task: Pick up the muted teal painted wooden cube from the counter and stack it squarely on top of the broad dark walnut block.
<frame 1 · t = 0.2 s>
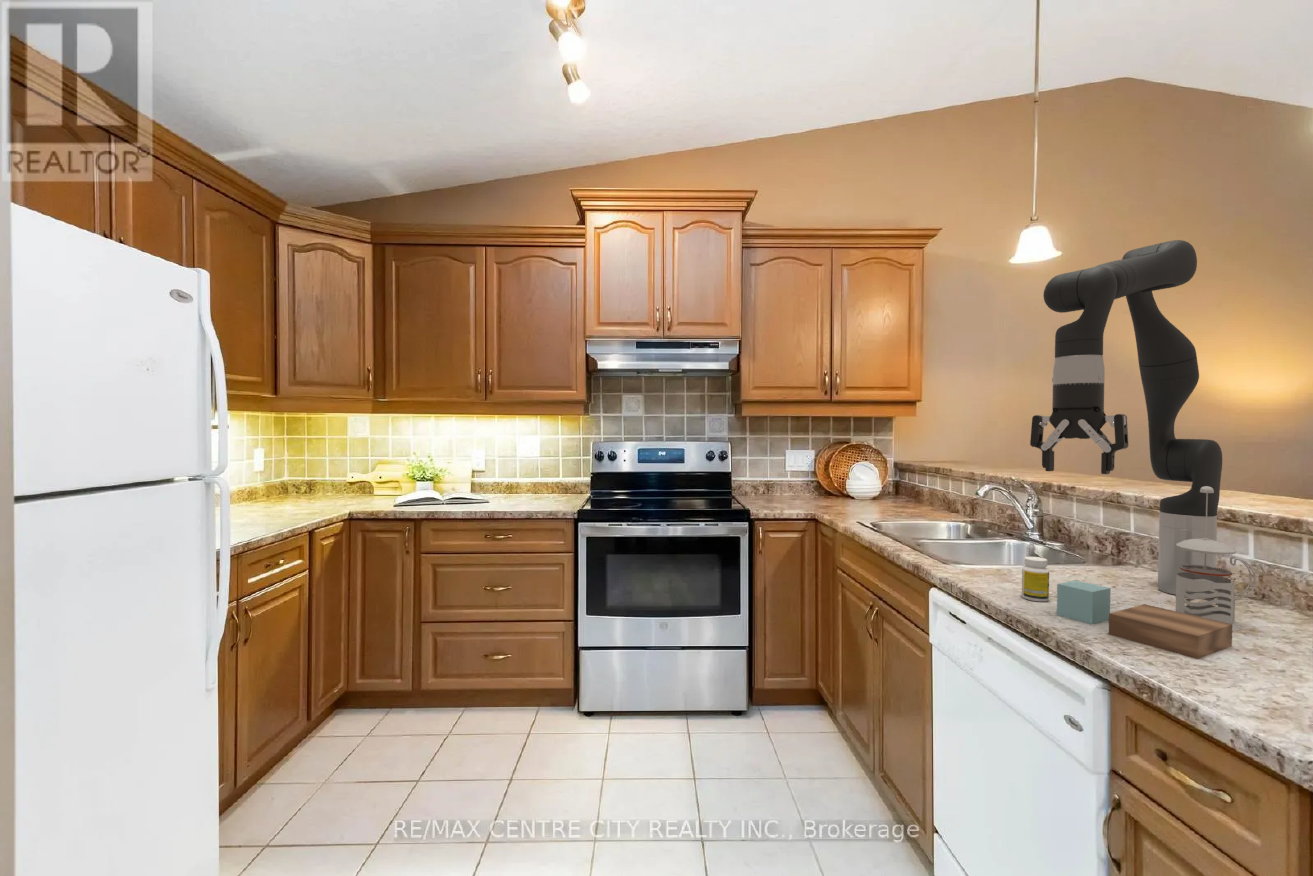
hand: (1076, 472, 105), 28 cm above the worktop, fingers open, 8 cm apart
supplement bottle: (1035, 599, 121), on the worktop
walnut block: (1168, 642, 98), on the worktop
french press: (1209, 623, 107), on the worktop
teal cube: (1082, 617, 110), on the worktop
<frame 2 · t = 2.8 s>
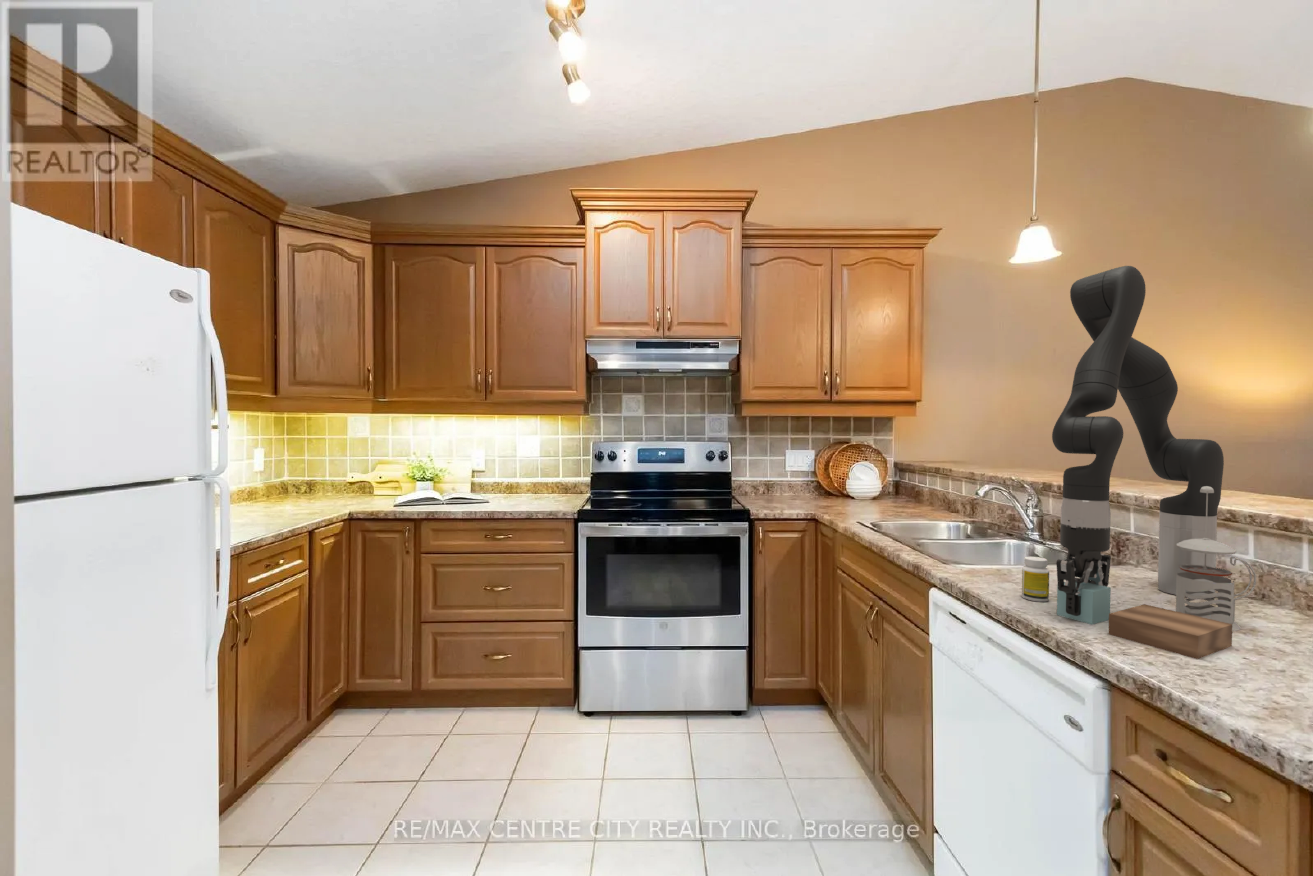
hand: (1082, 611, 110), 1 cm above the worktop, fingers closed on teal cube, 6 cm apart
teal cube: (1083, 617, 110), on the worktop, touching gripper
everything else where it was.
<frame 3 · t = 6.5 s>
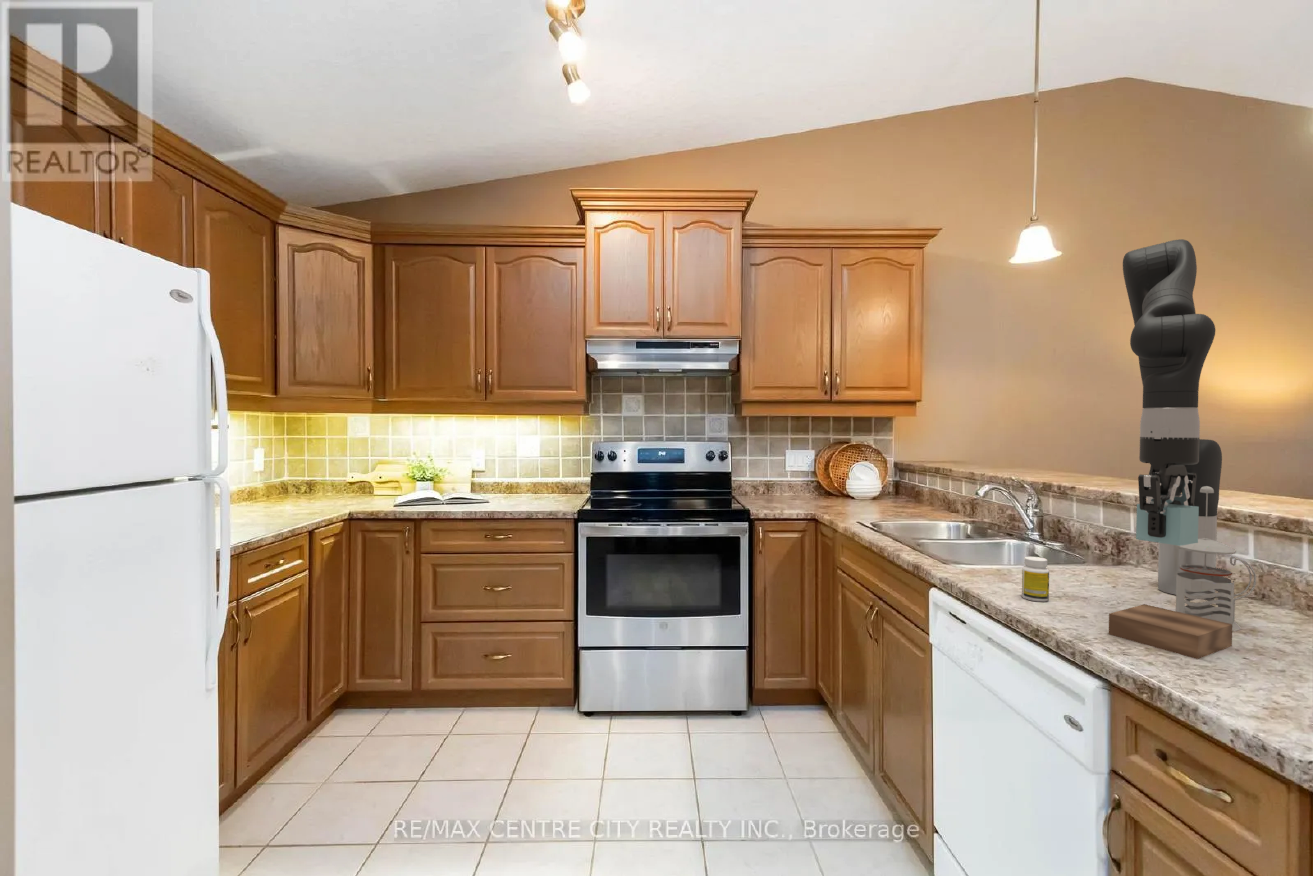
hand: (1166, 534, 98), 18 cm above the worktop, fingers closed on teal cube, 6 cm apart
teal cube: (1166, 541, 98), point 17 cm above the worktop, touching gripper
everything else where it was.
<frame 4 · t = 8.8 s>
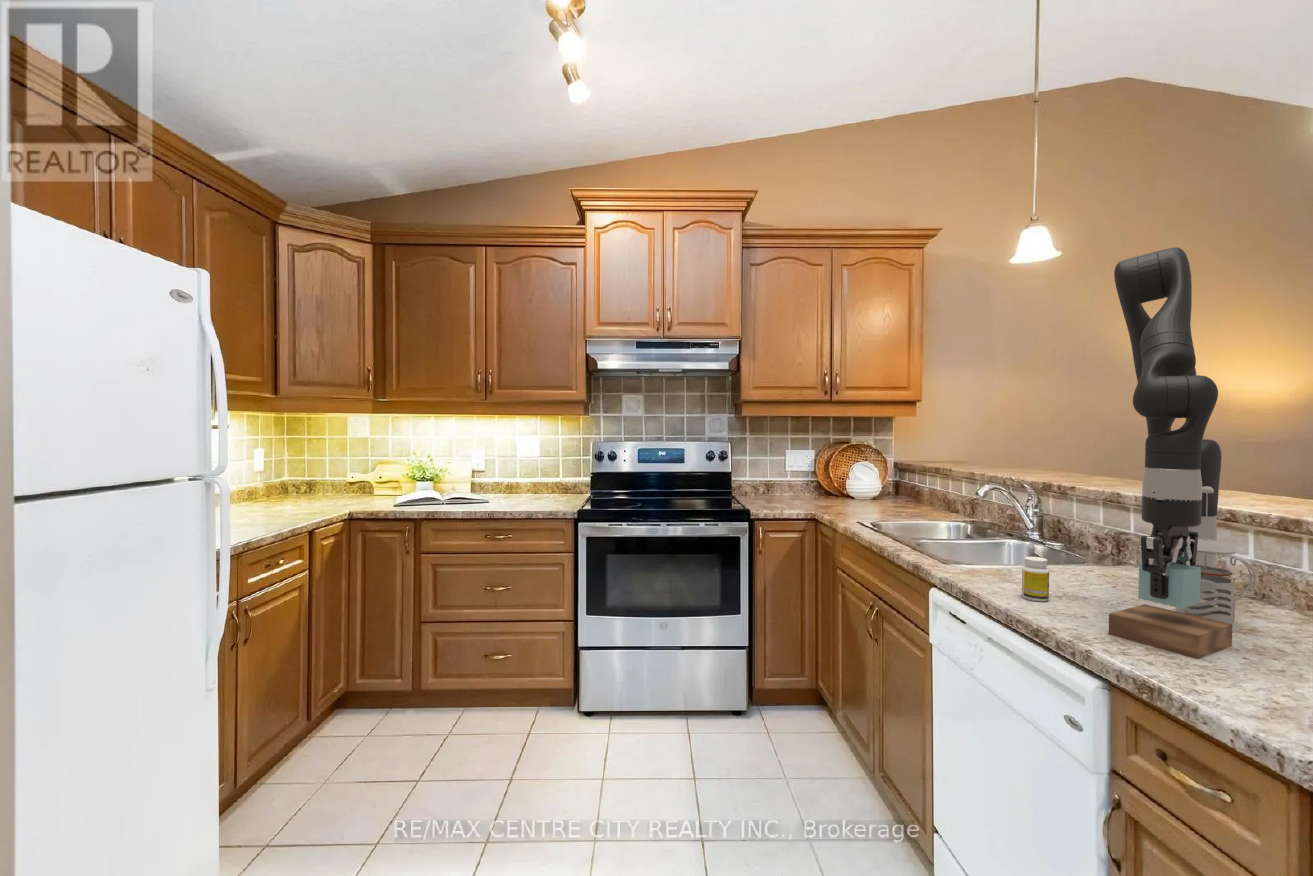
hand: (1168, 594, 98), 8 cm above the worktop, fingers closed on teal cube, 6 cm apart
teal cube: (1168, 600, 98), point 7 cm above the worktop, touching gripper
everything else where it was.
when the fingers open (5 cm above the worktop, at t = 10.4 s): teal cube stays where it is, point 3 cm above the worktop.
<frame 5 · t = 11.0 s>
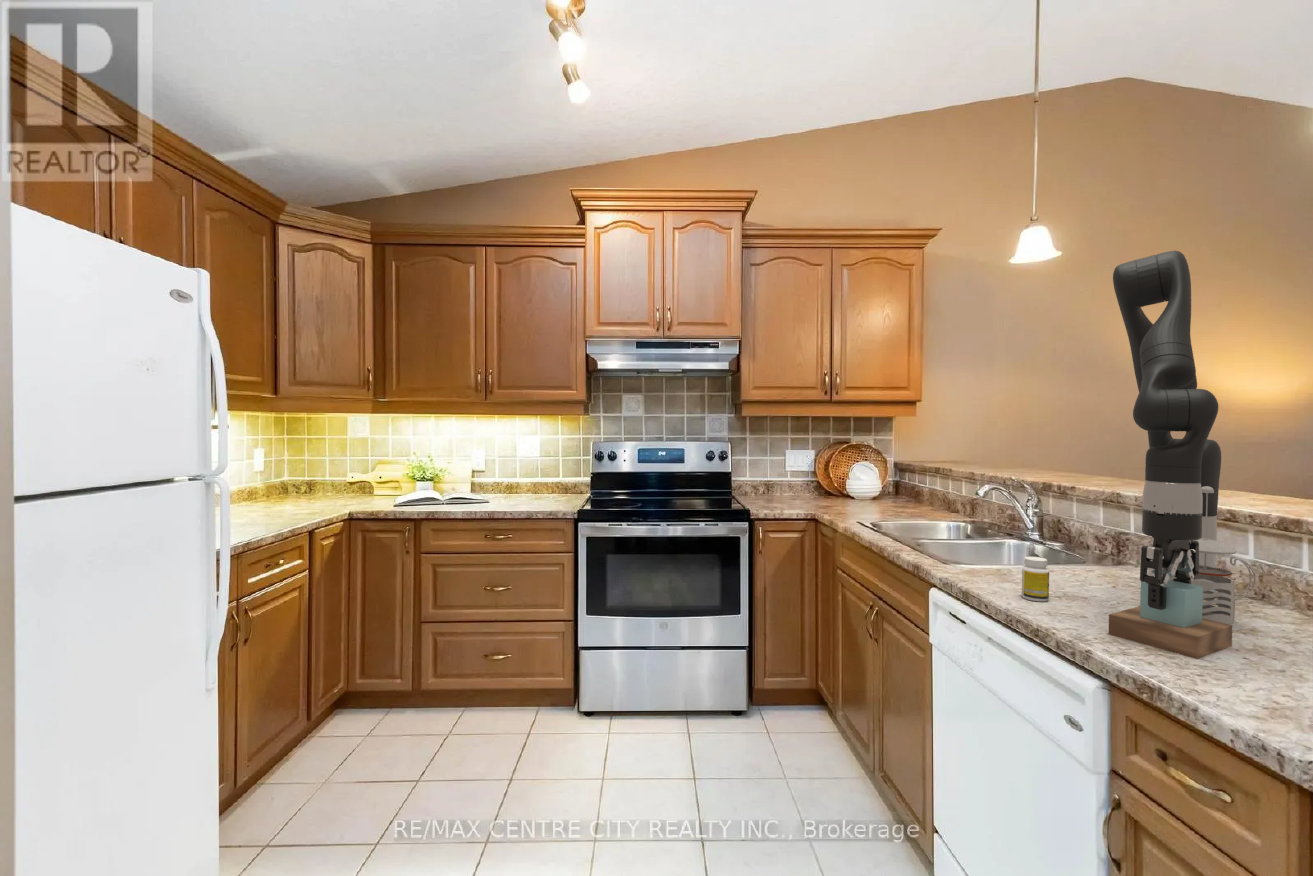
hand: (1169, 604, 98), 6 cm above the worktop, fingers open, 8 cm apart
teal cube: (1170, 619, 98), point 3 cm above the worktop
everything else where it was.
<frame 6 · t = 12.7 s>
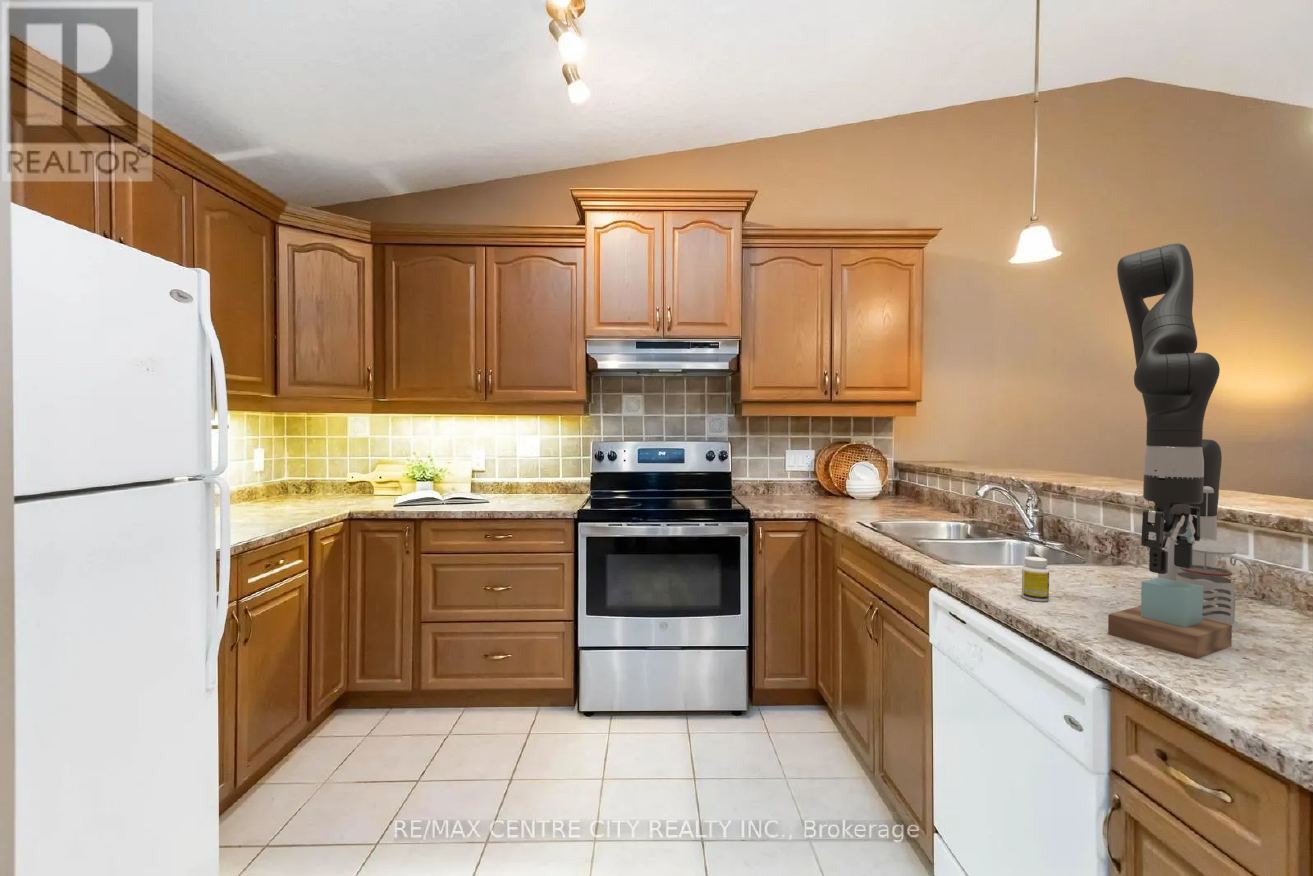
hand: (1170, 570, 98), 12 cm above the worktop, fingers open, 8 cm apart
walnut block: (1168, 643, 98), on the worktop, touching teal cube
teal cube: (1171, 619, 98), point 3 cm above the worktop, touching walnut block
everything else where it was.
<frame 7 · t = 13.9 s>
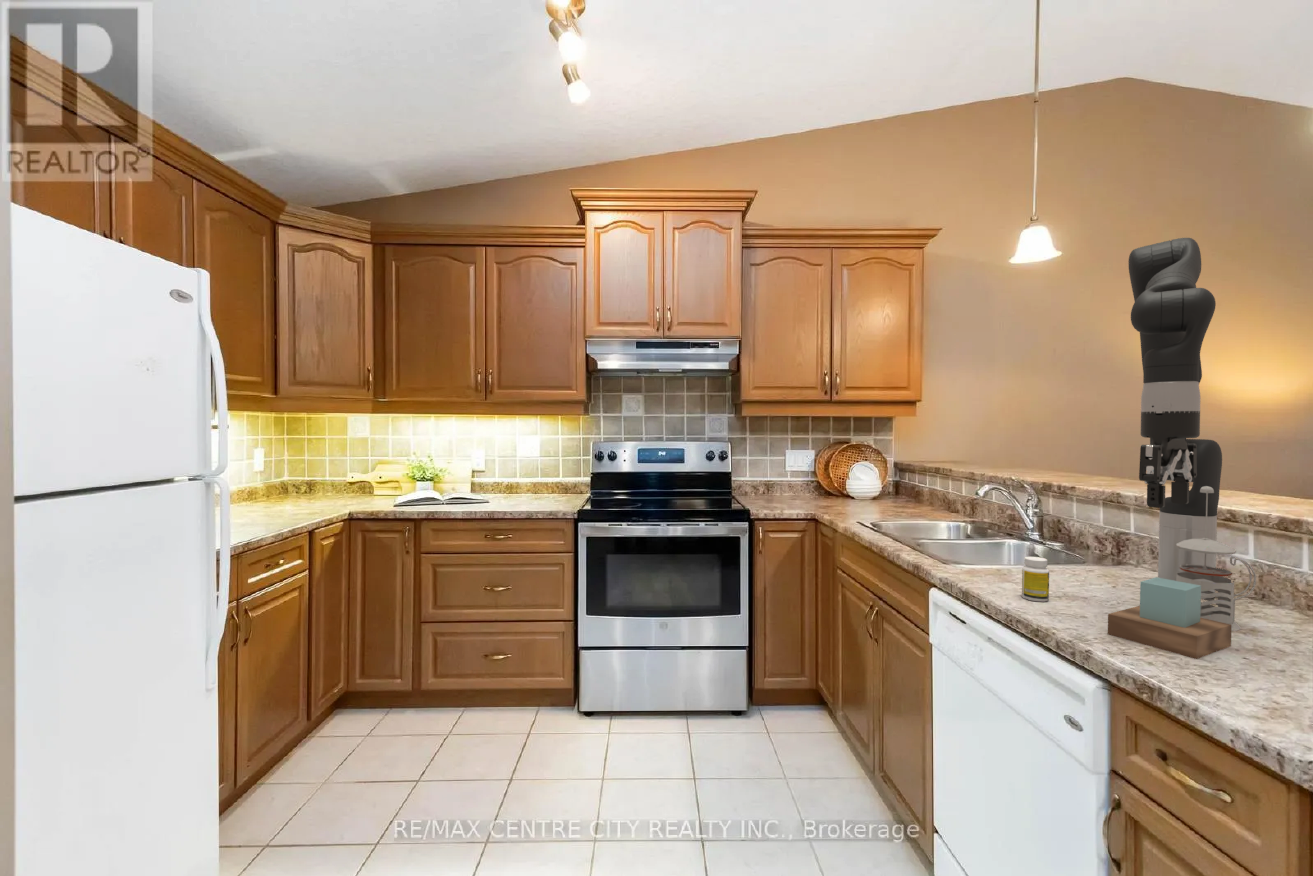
hand: (1168, 505, 99), 22 cm above the worktop, fingers open, 8 cm apart
walnut block: (1167, 642, 98), on the worktop
teal cube: (1169, 619, 98), point 4 cm above the worktop
everything else where it was.
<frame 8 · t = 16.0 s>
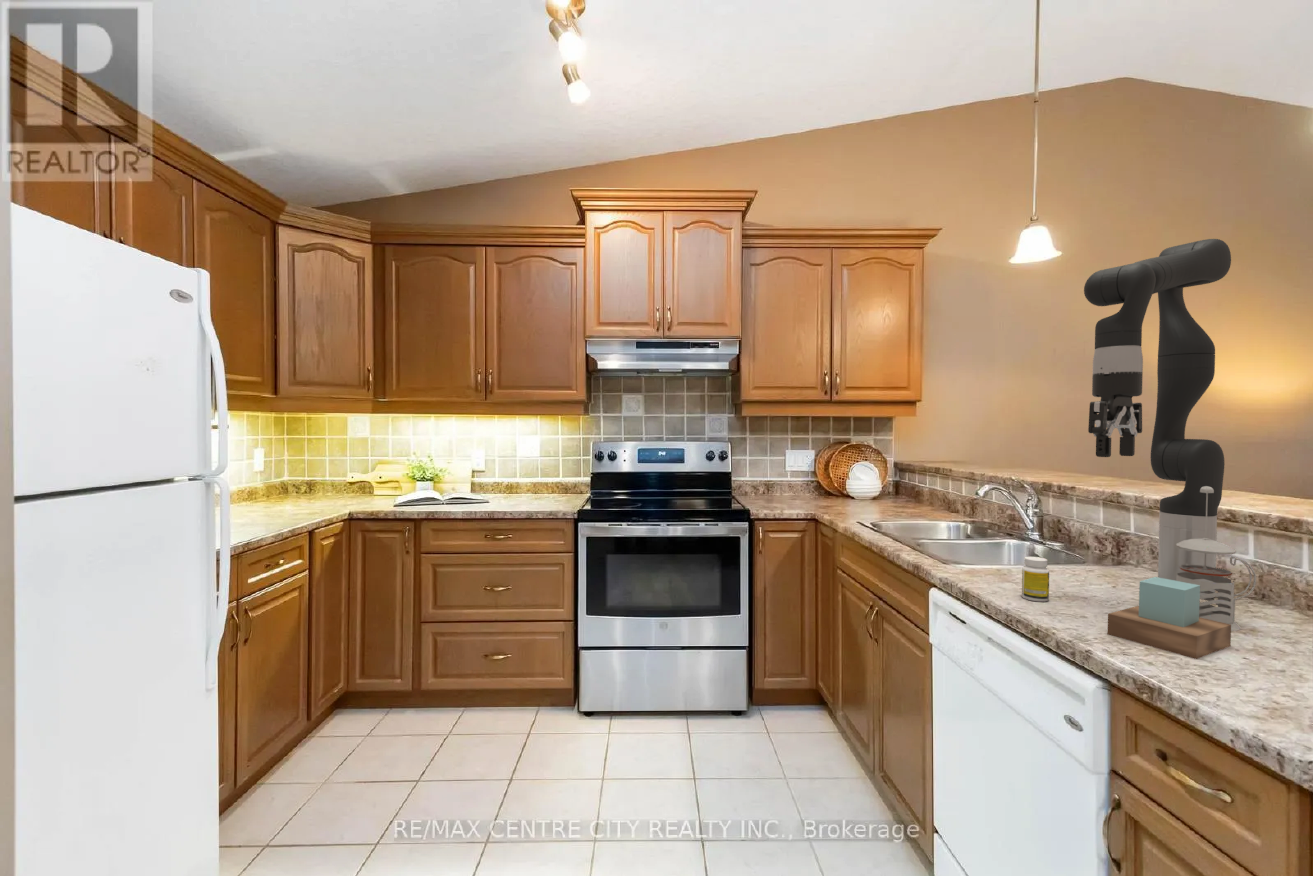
hand: (1115, 456, 112), 30 cm above the worktop, fingers open, 8 cm apart
nothing on the worktop moved.
at the end: teal cube inside the target area on the walnut block (0.1 cm from its centre), point 4.0 cm above the walnut block's base; teal cube tilted 0°; the gripper is holding nothing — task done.
